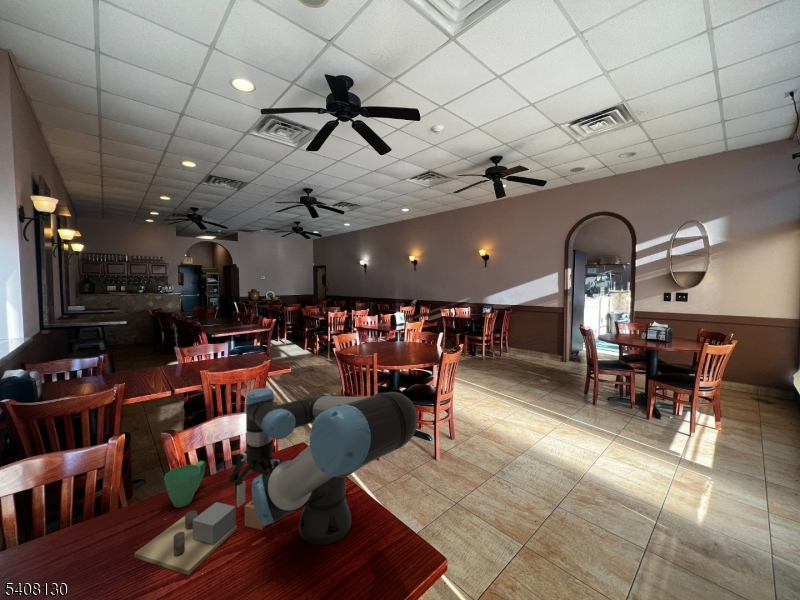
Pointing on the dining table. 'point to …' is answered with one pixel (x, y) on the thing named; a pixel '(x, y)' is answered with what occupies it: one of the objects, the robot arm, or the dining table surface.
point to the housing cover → (214, 523)
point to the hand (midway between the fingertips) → (259, 508)
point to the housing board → (167, 549)
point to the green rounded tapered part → (184, 483)
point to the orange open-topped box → (252, 517)
